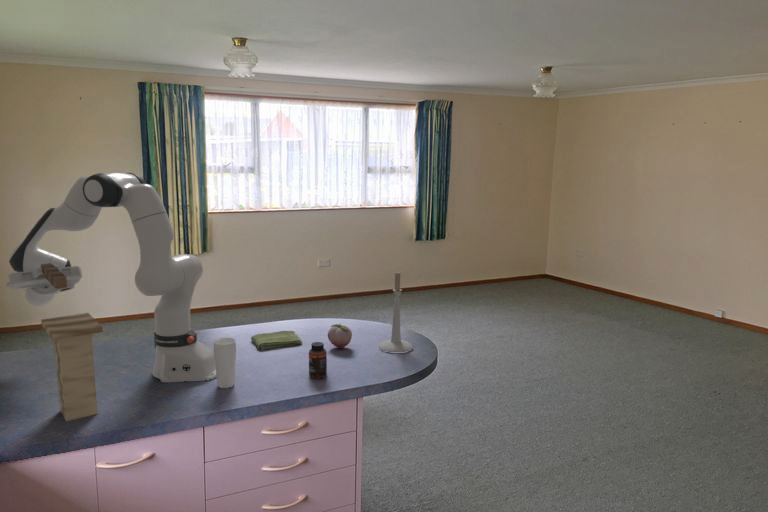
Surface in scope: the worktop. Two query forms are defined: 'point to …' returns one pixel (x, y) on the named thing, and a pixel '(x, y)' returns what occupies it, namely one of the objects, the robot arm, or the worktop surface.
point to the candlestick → (396, 325)
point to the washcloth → (276, 339)
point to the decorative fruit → (339, 335)
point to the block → (54, 276)
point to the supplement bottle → (317, 360)
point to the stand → (74, 363)
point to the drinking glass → (225, 361)
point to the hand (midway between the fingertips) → (48, 269)
